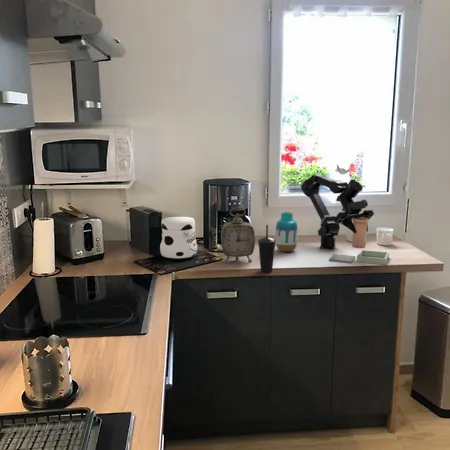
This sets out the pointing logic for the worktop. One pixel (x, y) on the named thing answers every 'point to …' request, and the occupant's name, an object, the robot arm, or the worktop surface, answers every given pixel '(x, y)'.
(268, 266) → the drinking cup
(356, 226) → the terracotta pot
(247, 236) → the tabletop clock
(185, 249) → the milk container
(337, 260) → the slate tile
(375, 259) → the green tray
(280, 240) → the vase
